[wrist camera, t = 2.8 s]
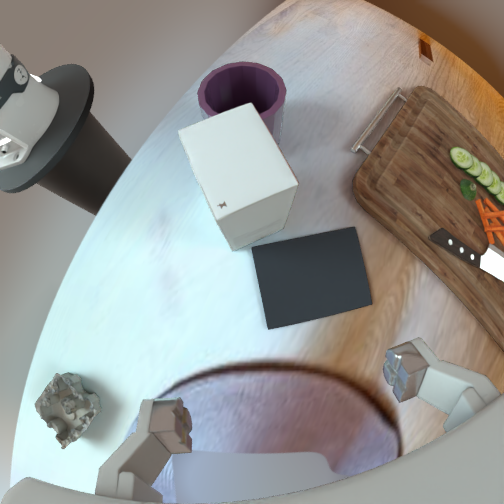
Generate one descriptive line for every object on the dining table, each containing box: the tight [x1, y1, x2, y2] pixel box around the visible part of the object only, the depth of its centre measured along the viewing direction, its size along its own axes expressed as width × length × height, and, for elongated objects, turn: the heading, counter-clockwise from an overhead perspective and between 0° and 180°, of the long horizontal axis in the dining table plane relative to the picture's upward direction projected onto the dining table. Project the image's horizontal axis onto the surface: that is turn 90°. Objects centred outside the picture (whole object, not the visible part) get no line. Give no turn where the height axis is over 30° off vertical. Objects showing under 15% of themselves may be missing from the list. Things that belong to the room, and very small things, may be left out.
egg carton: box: [35, 373, 102, 449], centre depth 27 cm, size 11×8×4 cm
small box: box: [178, 103, 299, 251], centre depth 25 cm, size 8×6×13 cm
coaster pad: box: [252, 227, 372, 330], centre depth 30 cm, size 12×9×1 cm
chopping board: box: [351, 86, 504, 351], centre depth 30 cm, size 45×27×3 cm, turn 51°
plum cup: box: [197, 62, 286, 145], centre depth 29 cm, size 9×9×9 cm
